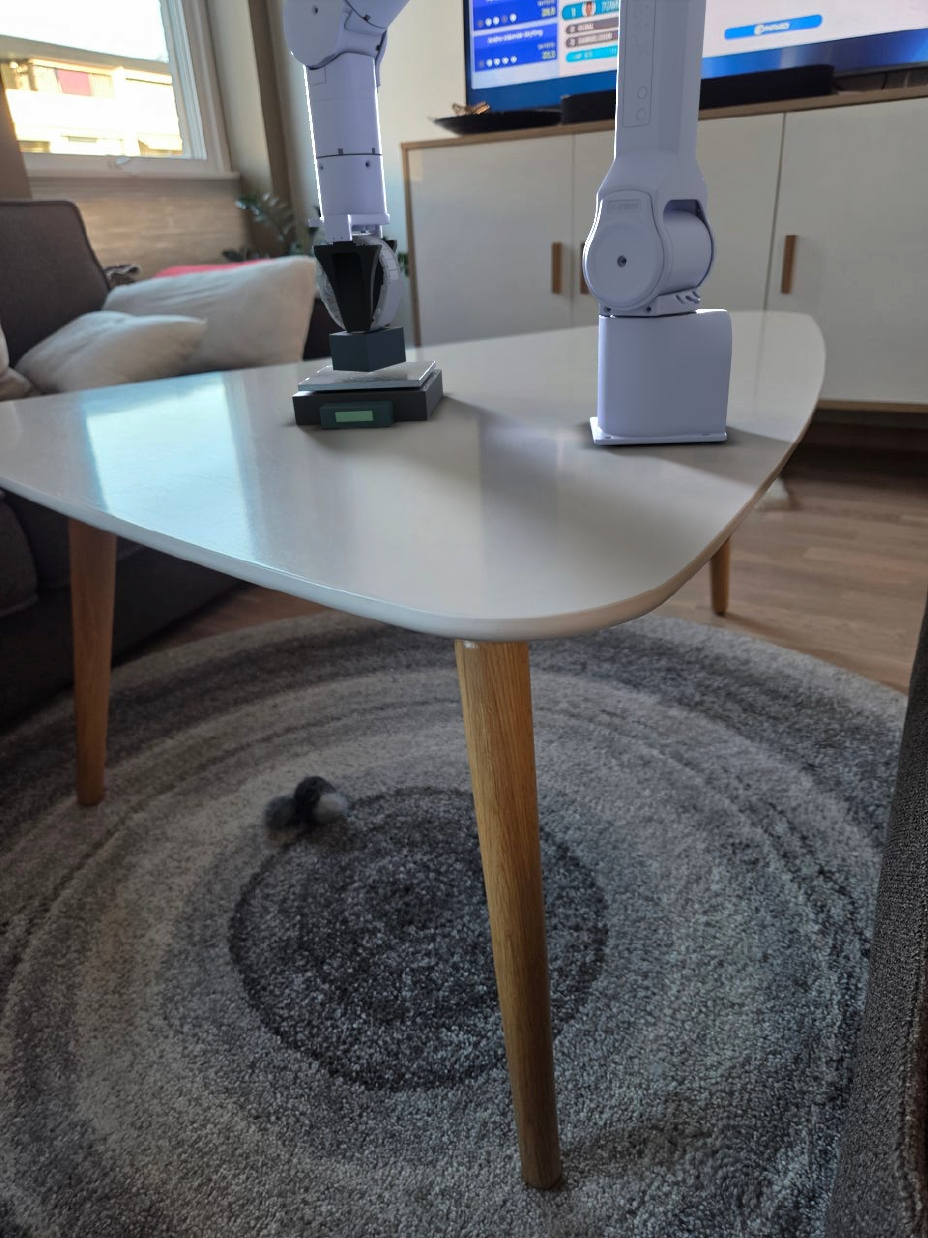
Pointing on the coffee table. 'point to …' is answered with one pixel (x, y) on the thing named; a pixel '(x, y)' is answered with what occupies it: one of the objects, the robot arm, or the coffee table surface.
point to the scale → (368, 405)
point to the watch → (380, 342)
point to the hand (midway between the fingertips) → (365, 327)
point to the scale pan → (370, 377)
